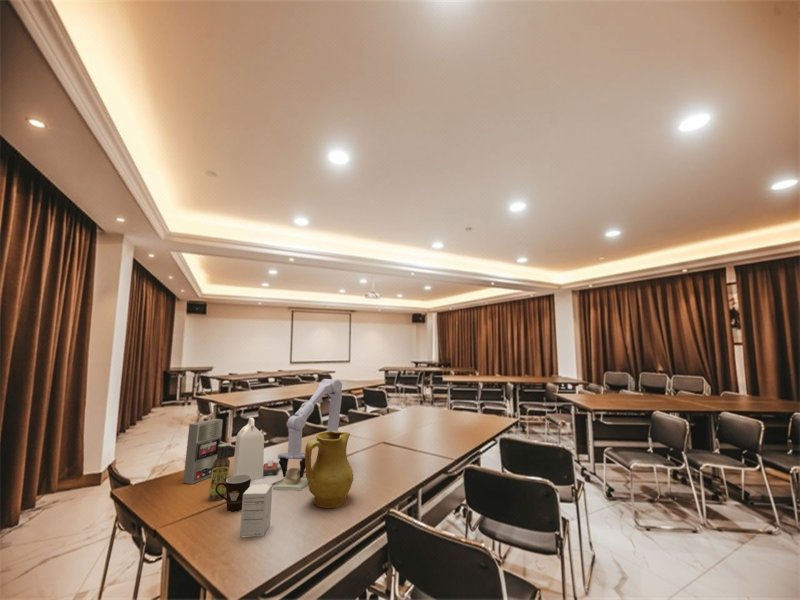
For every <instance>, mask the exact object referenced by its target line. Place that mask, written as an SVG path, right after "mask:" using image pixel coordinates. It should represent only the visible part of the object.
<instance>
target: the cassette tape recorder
mask: <svg viewBox="0 0 800 600" xmlns="http://www.w3.org/2000/svg"><path fill="white" fill-rule="evenodd" d="M222 430H223V419H221V418H213V419H207V420H204V421H203V420H202V421H198V422H193V423H189V427H188V432H187V433H188V435H187V445H186V453H185V462H184V471H183V478H182V483H183V484H188V485H195V484H196V483H200V482H201V481H203V480H206V479H210V478H211V474H212V469H213V463H214V461H215V460H216V458H217V455H218V445H220V444H222V433H223V431H222Z"/></svg>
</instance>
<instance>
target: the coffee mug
mask: <svg viewBox="0 0 800 600" xmlns="http://www.w3.org/2000/svg"><path fill="white" fill-rule="evenodd" d="M251 482H252V480H251V476H250V475H237V476H233V477H232V476H230V477H228V479H227V480H226V484H225V483H220V484H218V485H217V486H216V488H215V491H216V493H217V494H218V495H219V496H220V497H222V498H223V499H222V500H225V501H226V511H227V512H228V511H231V512H230V513H235V511H237V512H240V511H242V501H243V494H244V492H245V491H246V490H247V489H248V488H249V487H250V486H251ZM219 485H224V486H225V487H226V496H225V497H224V496H222V495H221V494H219V492H218V491H217V487H218V486H219ZM239 510H240V511H239Z"/></svg>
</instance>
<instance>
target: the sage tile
mask: <svg viewBox="0 0 800 600" xmlns="http://www.w3.org/2000/svg"><path fill="white" fill-rule="evenodd" d="M285 479H286V476H285V477H283V478H282V479H281V480H280V481H278V482H277V483H276V484H274V485H273V486H272V490H280V491H282V490H283V491H302V490H303V489H304V488H305V487H306V485H308V481H307V478H306V476H303V477H302V478H301V481H300V482H299V483H298V484H297V485H291V484H285Z"/></svg>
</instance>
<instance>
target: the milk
mask: <svg viewBox="0 0 800 600" xmlns="http://www.w3.org/2000/svg"><path fill="white" fill-rule="evenodd" d="M235 437H236V439H235V447H234V455H233V462H232V471H231V472H232V473H231V477H233V476H237V475H250V476H251V481H256V480H261V479H264V477H263V466H264V464H265V463H264V462H265V461H264V457H265V456H264V455H265V452H264V451H265V447H264V446H265V435H264V433H262V432H261V431H260V430H259V428H257V427H256V426H255V419H254V418H253V417H249V418H248V422H247V424H246V425H244V426H243V427H242V428H241V429H240V430H239V431H238V433H237V434H236V436H235Z"/></svg>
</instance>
